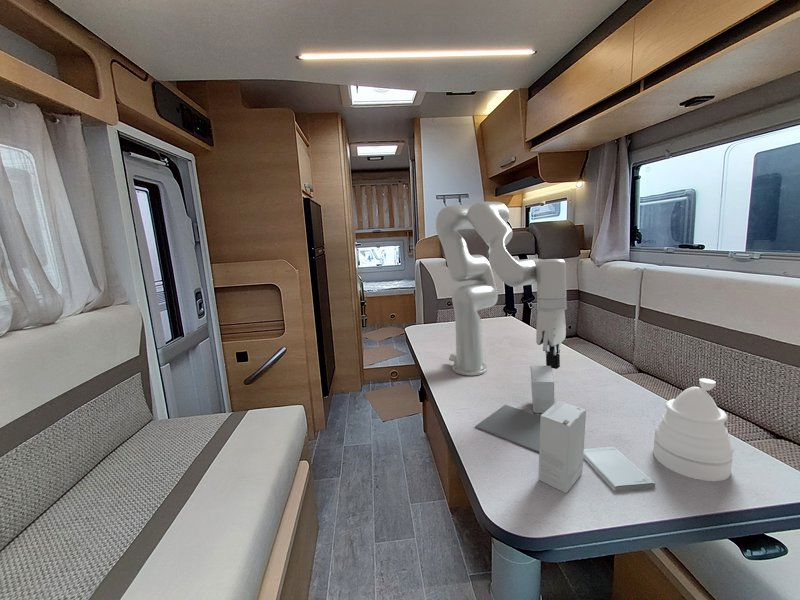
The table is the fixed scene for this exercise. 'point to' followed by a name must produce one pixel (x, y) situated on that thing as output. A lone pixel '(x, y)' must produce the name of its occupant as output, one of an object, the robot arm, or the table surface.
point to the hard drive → (616, 469)
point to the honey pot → (694, 436)
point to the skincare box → (561, 445)
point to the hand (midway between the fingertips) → (553, 367)
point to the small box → (542, 388)
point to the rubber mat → (514, 426)
